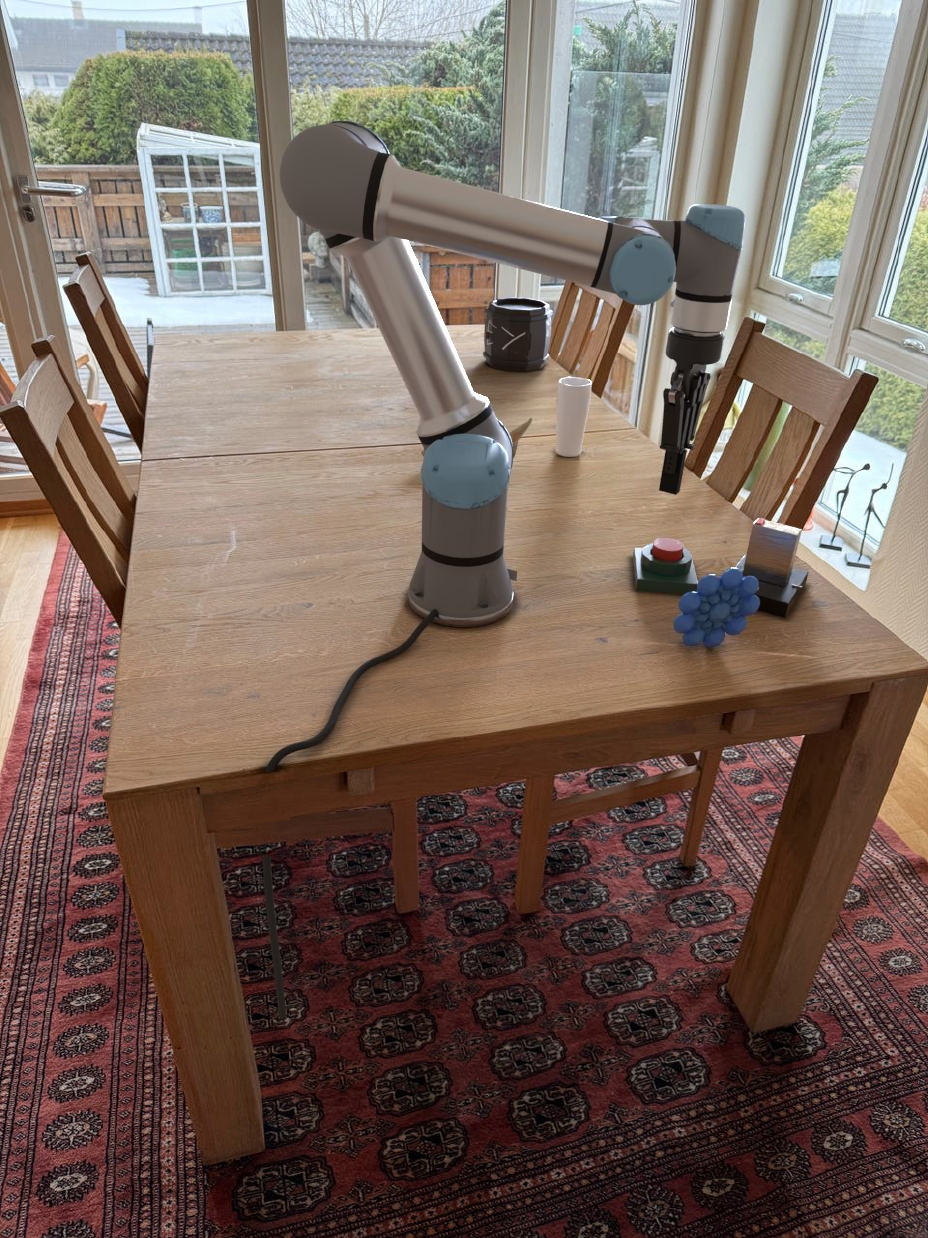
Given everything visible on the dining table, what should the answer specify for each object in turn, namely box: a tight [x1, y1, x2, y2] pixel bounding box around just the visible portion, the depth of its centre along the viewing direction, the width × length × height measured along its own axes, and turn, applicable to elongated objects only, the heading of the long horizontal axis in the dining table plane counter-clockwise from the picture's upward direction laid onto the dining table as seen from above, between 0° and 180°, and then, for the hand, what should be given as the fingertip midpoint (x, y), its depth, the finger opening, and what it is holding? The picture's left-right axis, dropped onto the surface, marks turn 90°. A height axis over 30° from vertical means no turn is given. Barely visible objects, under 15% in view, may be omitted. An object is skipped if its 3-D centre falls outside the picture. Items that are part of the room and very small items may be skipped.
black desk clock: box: [482, 296, 554, 372], centre depth 243 cm, size 18×18×16 cm
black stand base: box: [730, 554, 809, 619], centre depth 139 cm, size 12×11×3 cm
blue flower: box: [672, 567, 760, 648], centre depth 123 cm, size 12×7×12 cm, turn 98°
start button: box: [652, 537, 685, 561], centre depth 140 cm, size 5×5×2 cm
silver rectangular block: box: [743, 517, 803, 587], centre depth 136 cm, size 6×3×9 cm, turn 58°
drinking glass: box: [554, 376, 593, 458], centre depth 185 cm, size 7×7×15 cm
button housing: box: [632, 543, 698, 595], centre depth 142 cm, size 11×9×4 cm
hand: (669, 490), depth 136 cm, fingers closed
